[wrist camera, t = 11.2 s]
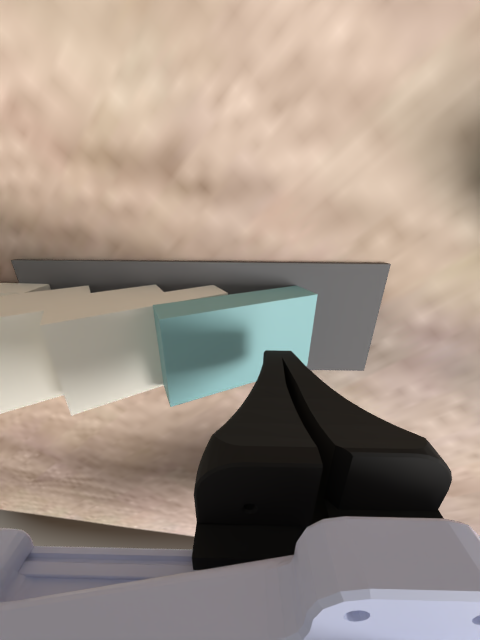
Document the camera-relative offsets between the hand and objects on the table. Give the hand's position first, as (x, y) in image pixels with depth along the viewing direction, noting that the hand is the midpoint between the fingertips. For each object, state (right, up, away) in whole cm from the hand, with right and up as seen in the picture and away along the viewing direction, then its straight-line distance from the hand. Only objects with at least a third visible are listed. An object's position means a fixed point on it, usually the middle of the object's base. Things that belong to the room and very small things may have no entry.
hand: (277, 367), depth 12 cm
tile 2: (-3, +2, +4) cm, 6 cm away
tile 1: (+2, +2, +4) cm, 5 cm away
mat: (-4, +2, +5) cm, 7 cm away
